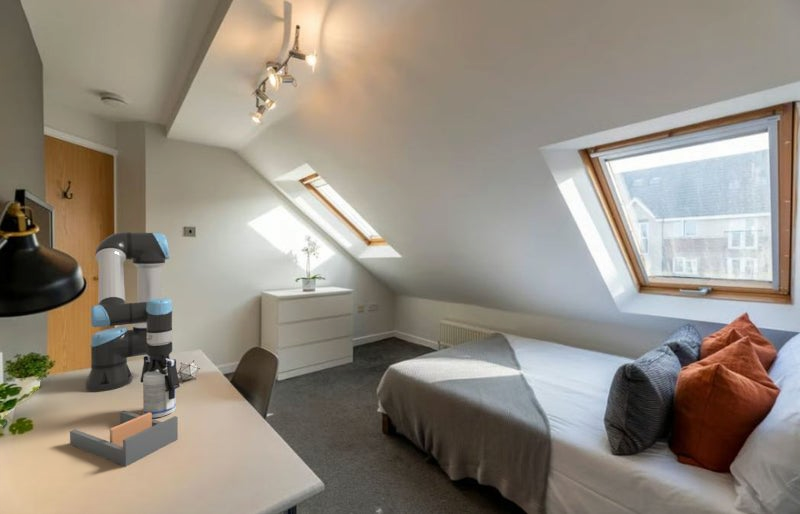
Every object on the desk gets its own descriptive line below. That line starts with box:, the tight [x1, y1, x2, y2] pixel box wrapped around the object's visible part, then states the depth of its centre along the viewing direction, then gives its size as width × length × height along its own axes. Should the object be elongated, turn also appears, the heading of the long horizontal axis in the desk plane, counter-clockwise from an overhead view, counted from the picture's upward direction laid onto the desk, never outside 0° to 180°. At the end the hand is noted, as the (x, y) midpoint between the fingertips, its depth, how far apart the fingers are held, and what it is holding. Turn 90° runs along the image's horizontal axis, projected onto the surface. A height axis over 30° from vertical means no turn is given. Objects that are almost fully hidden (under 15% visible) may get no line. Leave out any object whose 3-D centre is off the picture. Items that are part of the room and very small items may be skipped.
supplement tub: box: [142, 367, 177, 419], centre depth 124 cm, size 10×10×15 cm
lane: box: [69, 410, 179, 467], centre depth 105 cm, size 26×14×7 cm, turn 68°
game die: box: [177, 360, 201, 383], centre depth 154 cm, size 9×8×10 cm
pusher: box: [109, 412, 153, 447], centre depth 103 cm, size 4×11×7 cm, turn 158°
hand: (159, 405), depth 124 cm, fingers open, 10 cm apart
